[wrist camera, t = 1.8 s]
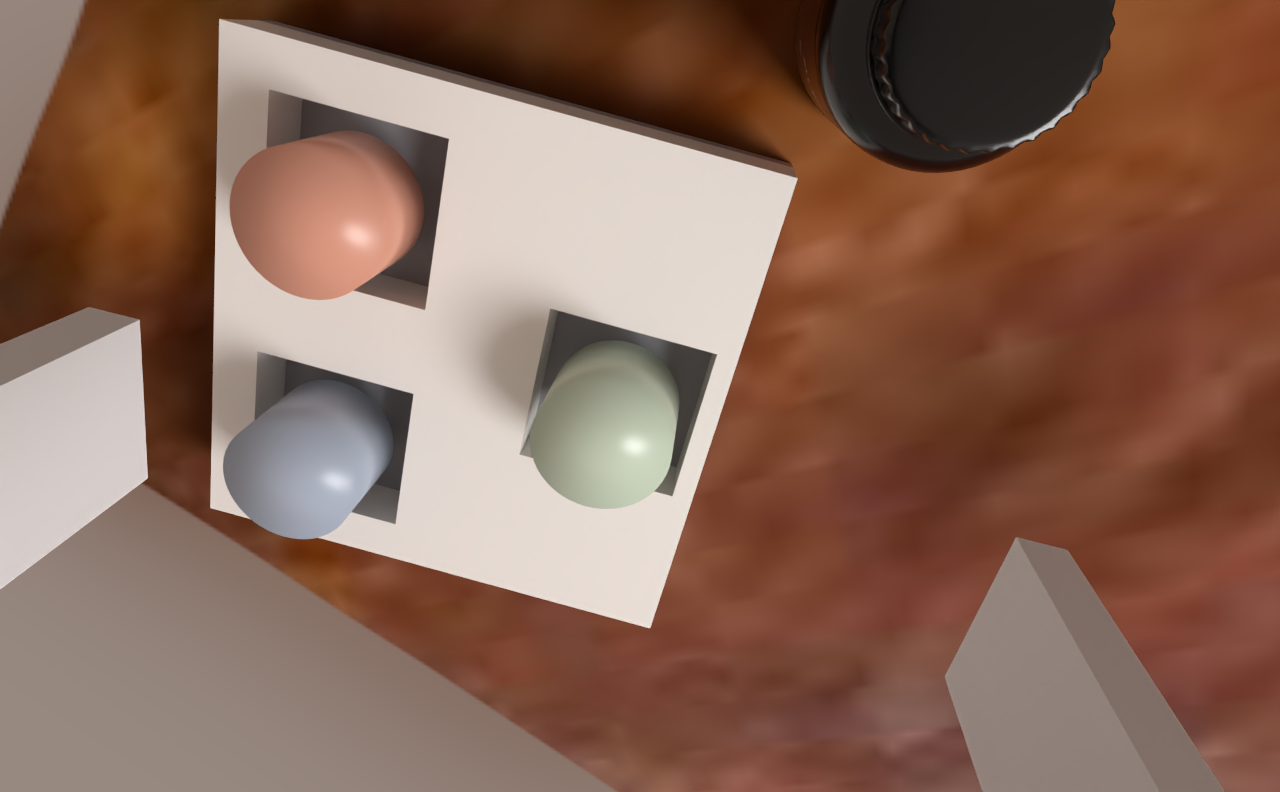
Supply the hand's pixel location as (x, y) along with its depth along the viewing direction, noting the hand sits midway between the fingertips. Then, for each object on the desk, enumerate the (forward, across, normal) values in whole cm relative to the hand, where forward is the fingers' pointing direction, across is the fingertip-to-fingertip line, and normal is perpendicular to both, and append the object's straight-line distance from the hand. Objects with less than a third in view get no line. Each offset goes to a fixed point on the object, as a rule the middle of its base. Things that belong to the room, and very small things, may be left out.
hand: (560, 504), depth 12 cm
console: (+21, -6, -7) cm, 23 cm away
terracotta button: (+18, -11, -2) cm, 21 cm away
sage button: (+18, 0, -7) cm, 20 cm away
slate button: (+18, -11, -12) cm, 24 cm away
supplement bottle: (+21, +6, +8) cm, 24 cm away
